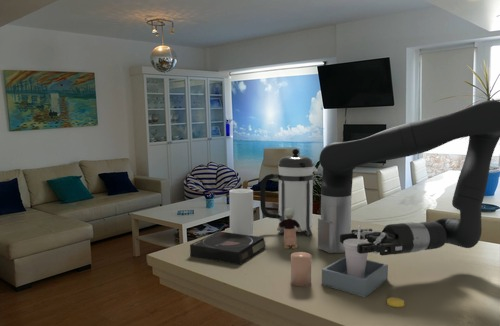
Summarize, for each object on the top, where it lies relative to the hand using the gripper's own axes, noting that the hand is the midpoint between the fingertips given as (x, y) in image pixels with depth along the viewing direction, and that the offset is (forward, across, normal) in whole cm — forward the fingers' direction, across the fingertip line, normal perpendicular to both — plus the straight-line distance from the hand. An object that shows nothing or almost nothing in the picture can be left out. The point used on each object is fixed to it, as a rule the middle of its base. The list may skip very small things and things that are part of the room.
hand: (348, 243), depth 102 cm
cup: (+14, -49, +10) cm, 52 cm away
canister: (+11, -4, +10) cm, 15 cm away
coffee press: (-4, -48, +10) cm, 49 cm away
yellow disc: (-4, +13, +10) cm, 17 cm away
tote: (-2, 0, +10) cm, 10 cm away
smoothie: (-2, 0, +10) cm, 10 cm away
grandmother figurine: (+3, -32, +10) cm, 33 cm away
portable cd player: (+22, -33, +11) cm, 41 cm away
